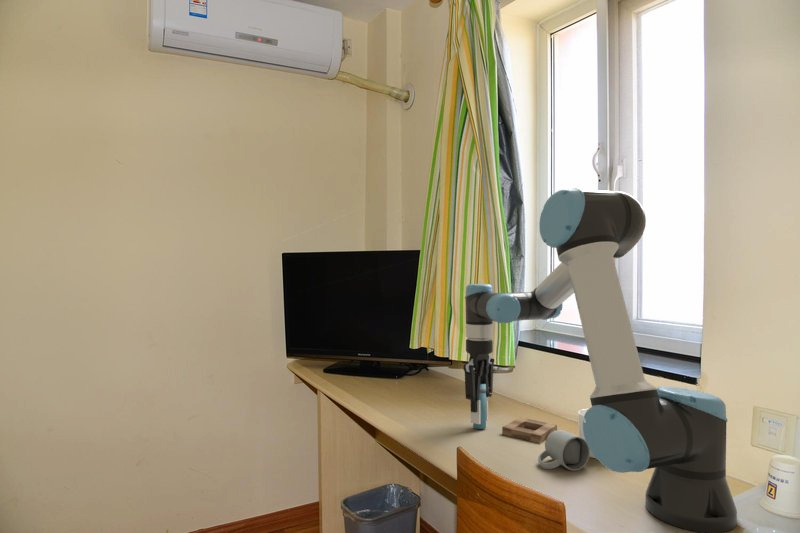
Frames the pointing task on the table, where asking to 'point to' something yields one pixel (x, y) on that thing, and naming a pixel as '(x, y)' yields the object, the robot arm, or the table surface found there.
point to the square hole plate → (529, 429)
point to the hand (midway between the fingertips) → (479, 421)
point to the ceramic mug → (565, 451)
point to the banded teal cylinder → (482, 407)
